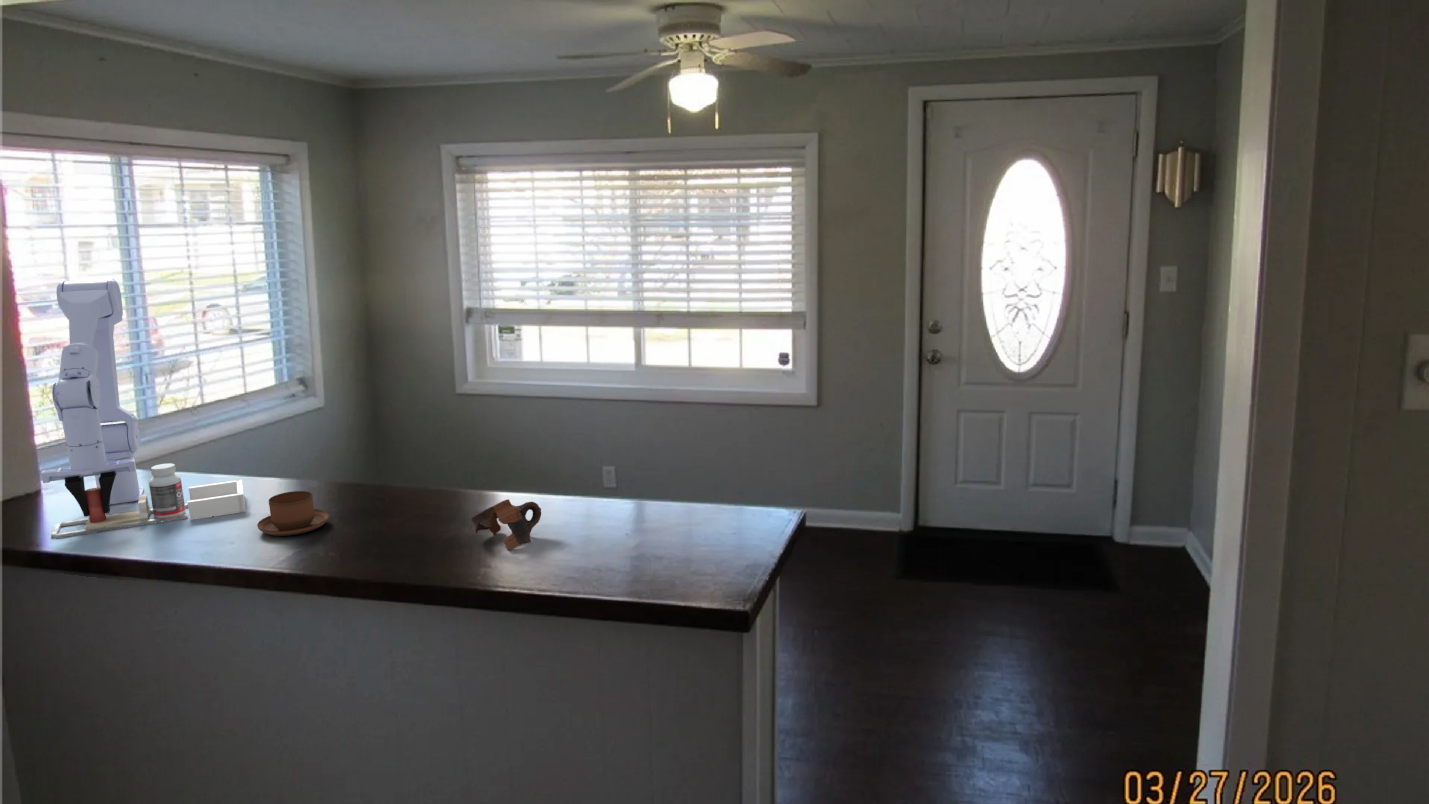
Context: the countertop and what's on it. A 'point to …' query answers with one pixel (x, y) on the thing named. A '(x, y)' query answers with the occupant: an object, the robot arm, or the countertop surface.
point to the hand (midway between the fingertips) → (97, 513)
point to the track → (106, 528)
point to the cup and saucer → (292, 514)
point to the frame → (216, 499)
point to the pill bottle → (166, 491)
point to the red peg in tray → (101, 519)
